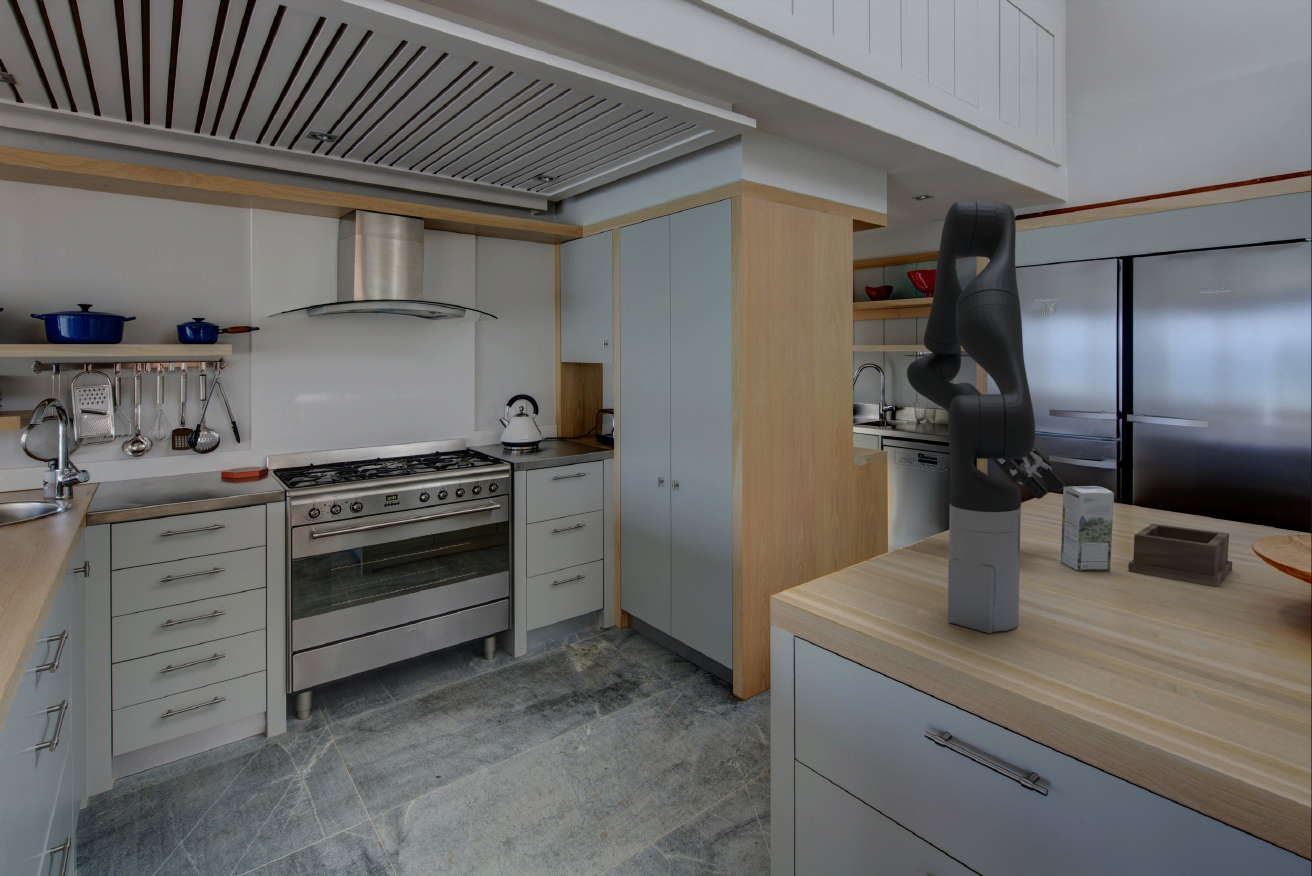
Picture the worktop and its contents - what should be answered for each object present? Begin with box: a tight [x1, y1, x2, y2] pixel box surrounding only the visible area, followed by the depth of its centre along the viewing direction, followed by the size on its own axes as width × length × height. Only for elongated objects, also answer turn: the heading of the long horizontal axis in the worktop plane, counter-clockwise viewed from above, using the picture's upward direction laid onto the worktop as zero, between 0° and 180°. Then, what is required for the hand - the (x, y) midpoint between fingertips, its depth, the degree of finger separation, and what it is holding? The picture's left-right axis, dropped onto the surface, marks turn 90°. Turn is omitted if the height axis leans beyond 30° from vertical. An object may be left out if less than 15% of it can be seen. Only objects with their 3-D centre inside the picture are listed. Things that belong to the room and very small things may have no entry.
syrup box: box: [1060, 485, 1115, 572], centre depth 117 cm, size 6×6×14 cm
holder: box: [1127, 523, 1233, 588], centre depth 113 cm, size 12×12×6 cm
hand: (1052, 492), depth 121 cm, fingers open, 8 cm apart
